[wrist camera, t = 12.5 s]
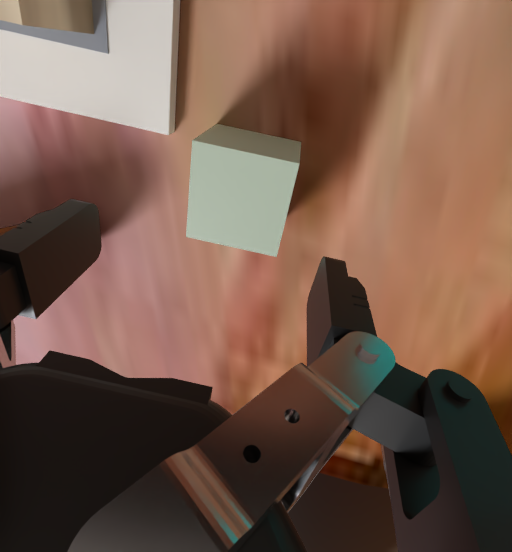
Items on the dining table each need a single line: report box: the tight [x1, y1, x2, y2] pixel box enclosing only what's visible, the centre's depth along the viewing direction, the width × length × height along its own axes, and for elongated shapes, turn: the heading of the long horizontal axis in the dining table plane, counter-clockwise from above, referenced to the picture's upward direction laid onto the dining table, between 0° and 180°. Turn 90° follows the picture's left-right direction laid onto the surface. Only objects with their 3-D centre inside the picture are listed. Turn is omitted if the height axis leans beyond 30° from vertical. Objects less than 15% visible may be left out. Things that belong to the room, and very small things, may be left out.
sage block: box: [186, 124, 301, 257], centre depth 18 cm, size 5×5×5 cm
